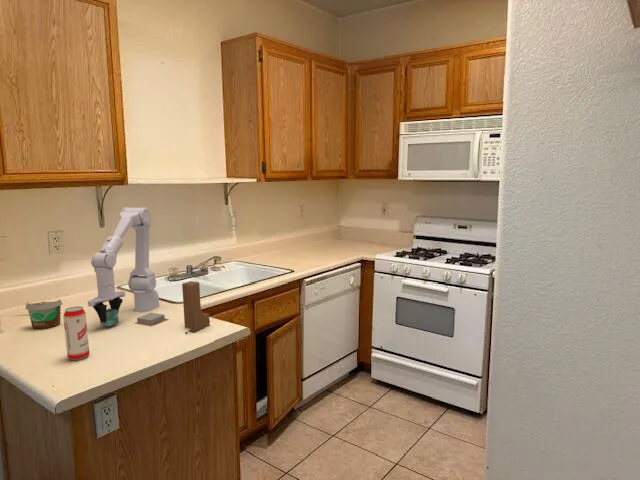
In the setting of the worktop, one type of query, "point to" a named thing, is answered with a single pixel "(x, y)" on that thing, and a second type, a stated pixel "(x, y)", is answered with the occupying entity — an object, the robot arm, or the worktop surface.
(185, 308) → the wooden block
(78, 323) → the beer can
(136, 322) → the base slab
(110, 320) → the block
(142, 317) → the top slab
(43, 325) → the food container
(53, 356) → the worktop surface
